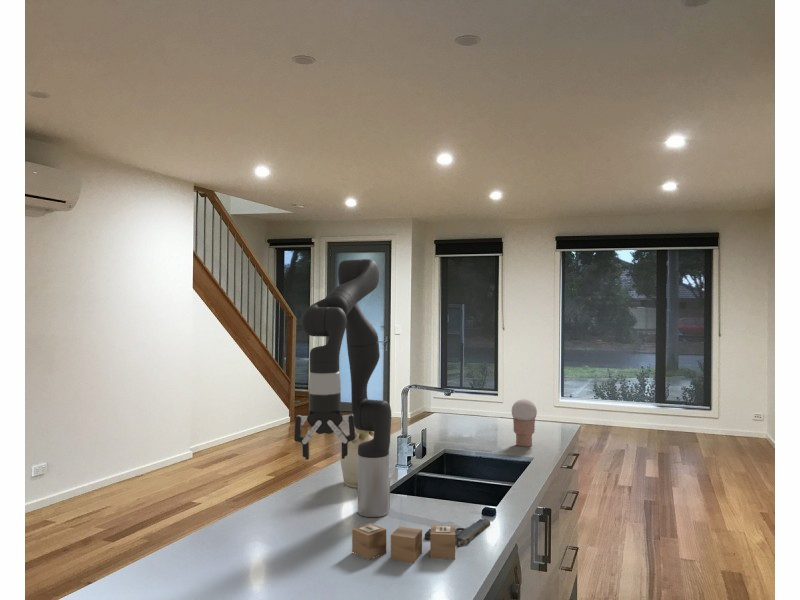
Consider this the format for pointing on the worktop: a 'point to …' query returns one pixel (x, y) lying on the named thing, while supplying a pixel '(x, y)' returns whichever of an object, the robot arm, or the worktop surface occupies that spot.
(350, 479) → the jug
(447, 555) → the labelled block
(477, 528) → the pistol
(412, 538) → the plain block
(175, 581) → the worktop surface
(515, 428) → the ice cream cone
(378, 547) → the labelled block
